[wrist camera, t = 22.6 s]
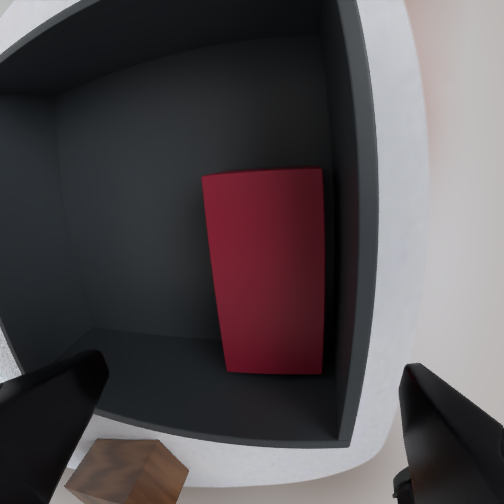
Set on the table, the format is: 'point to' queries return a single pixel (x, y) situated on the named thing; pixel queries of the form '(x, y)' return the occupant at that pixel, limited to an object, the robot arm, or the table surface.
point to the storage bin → (182, 202)
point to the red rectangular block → (268, 266)
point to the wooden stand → (128, 473)
